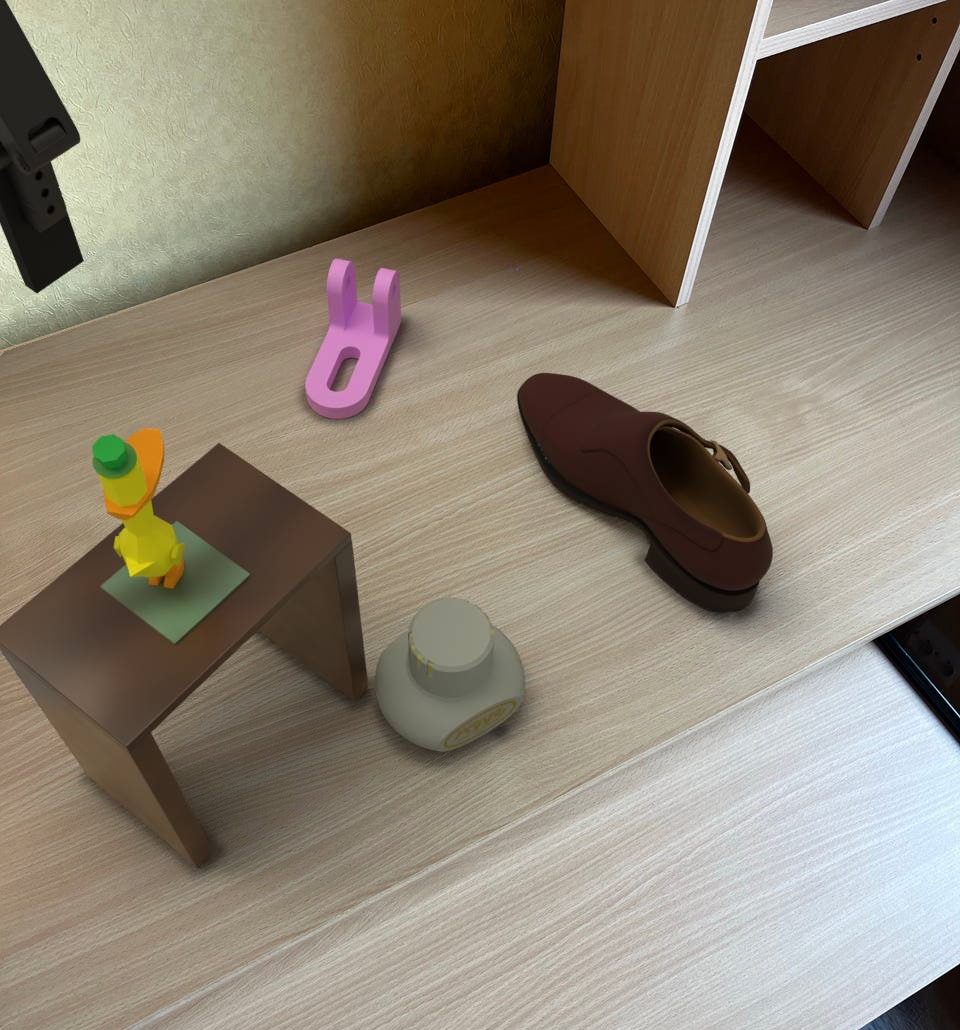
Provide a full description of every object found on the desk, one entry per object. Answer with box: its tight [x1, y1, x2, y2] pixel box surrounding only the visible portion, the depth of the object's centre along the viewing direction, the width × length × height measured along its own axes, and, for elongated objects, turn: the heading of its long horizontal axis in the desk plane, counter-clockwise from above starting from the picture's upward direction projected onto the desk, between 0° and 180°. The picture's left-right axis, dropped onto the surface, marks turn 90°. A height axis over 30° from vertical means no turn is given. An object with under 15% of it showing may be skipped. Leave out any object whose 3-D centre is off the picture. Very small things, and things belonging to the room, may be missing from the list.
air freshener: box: [374, 597, 526, 753], centre depth 78 cm, size 11×8×10 cm
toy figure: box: [91, 427, 185, 589], centre depth 58 cm, size 7×4×12 cm, turn 171°
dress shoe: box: [516, 372, 774, 613], centre depth 87 cm, size 9×28×12 cm, turn 37°
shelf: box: [0, 442, 370, 869], centre depth 72 cm, size 11×18×20 cm, turn 142°
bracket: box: [304, 258, 402, 420], centre depth 96 cm, size 13×6×7 cm, turn 166°
